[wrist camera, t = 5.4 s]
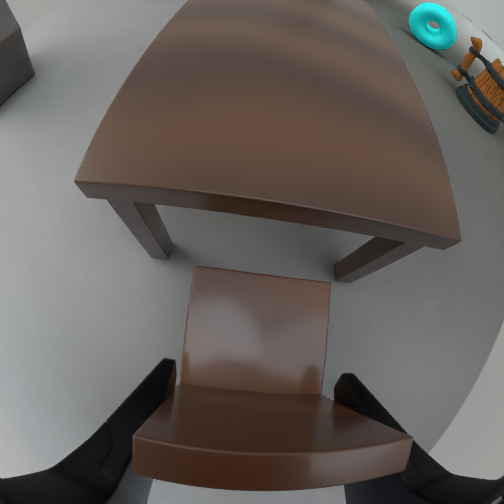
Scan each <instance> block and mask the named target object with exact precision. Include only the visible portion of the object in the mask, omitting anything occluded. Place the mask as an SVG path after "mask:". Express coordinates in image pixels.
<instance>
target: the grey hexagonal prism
mask: <svg viewBox="0 0 504 504" xmlns="http://www.w3.org/2000/svg"><path fill="white" fill-rule="evenodd" d="M34 74H35V72H34V69H33V66H32V64H31V61H30V58H29V55H28V52H27V49H26V45H25V42H24V39H23V36H22V33H21V29H20V26H19V24H18V23H17V21H16V19H15V17H14V15H13V14H12V12H11V10H10V8H9V6H8V4H7V2H6V1H5V0H0V105H1V104H2V103H3V102H4V101H5V100H6V99H7V98H8V97H9V96H10V95H11V94H12V93H14V92H15V91H16V90H17V89H18V88H19V87H20V86H21V85H22V84H24V83H25V82H26V81H27V80H28V79H29V78H31V77H32V76H33V75H34Z"/></svg>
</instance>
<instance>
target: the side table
mask: <svg viewBox="0 0 504 504" xmlns="http://www.w3.org/2000/svg"><path fill="white" fill-rule="evenodd" d="M74 182H75V184H76V185H77V186H78V187H79V189H80V190H81V191H82V192H83V194H84V195H85V196H86V197H87V198H97V199H107V201H108V202H109V203H110V205H111V206H112V207H113V209H114V210H115V211H116V213H117V214H118V215H119V217H120V218H121V219H122V221H123V222H124V223H125V225H126V226H127V227H128V228H129V230H130V231H131V232H132V234H133V235H134V236H135V237H136V239H137V240H138V241H139V242H140V244H141V245H142V246H143V247H144V249H145V250H146V251H147V252H148V254H149V255H150V256H151V257H154V258H161V259H169V255H170V250H171V245H172V241H171V239H170V237H169V235H168V233H167V231H166V229H165V226H164V224H163V222H162V220H161V218H160V216H159V214H158V211H157V209H156V207H155V205H154V204H159V205H168V206H176V207H185V208H193V209H201V210H209V211H217V212H225V213H232V214H240V215H247V216H254V217H261V218H268V219H274V220H281V221H288V222H294V223H300V224H307V225H313V226H319V227H325V228H331V229H337V230H342V231H348V232H354V233H359V234H365V235H370V236H375V237H374V238H372V239H371V240H370V241H368V242H367V243H365V244H364V245H362V246H361V247H360V248H358V249H357V250H355V251H354V252H352V253H351V254H349V255H348V256H347V257H345V258H344V259H342V260H341V261H339V262H338V263H336V264H335V281H339V282H348V283H351V282H353V281H355V280H357V279H359V278H362V277H364V276H366V275H368V274H370V273H372V272H374V271H376V270H378V269H381V268H383V267H385V266H387V265H389V264H391V263H393V262H395V261H397V260H399V259H401V258H403V257H405V256H407V255H409V254H411V253H413V252H414V251H416V250H418V249H420V248H422V247H424V246H427V247H431V248H436V249H441V250H445V249H447V248H449V247H451V246H453V245H455V244H457V243H459V242H461V234H460V228H459V222H458V217H457V211H456V206H455V202H454V197H453V193H452V189H451V184H450V181H449V177H448V173H447V169H446V166H445V162H444V159H443V156H442V152H441V149H440V146H439V143H438V140H437V137H436V134H435V132H434V129H433V126H432V123H431V121H430V118H429V116H428V113H427V111H426V108H425V106H424V103H423V101H422V99H421V96H420V94H419V92H418V90H417V88H416V85H415V83H414V81H413V79H412V77H411V75H410V73H409V71H408V69H407V67H406V65H405V63H404V61H403V60H402V58H401V56H400V54H399V52H398V51H397V49H396V47H395V45H394V44H393V42H392V40H391V39H390V37H389V35H388V34H387V32H386V30H385V29H384V27H383V26H382V24H381V23H380V21H379V20H378V18H377V17H376V15H375V14H374V12H373V11H372V9H371V8H370V7H369V5H368V4H367V2H365V1H362V0H188V1H187V2H186V3H185V4H184V5H183V6H182V7H181V9H180V10H179V11H178V12H177V13H176V14H175V15H174V16H173V18H172V19H171V20H170V21H169V22H168V23H167V25H166V26H165V27H164V28H163V29H162V31H161V32H160V33H159V34H158V36H157V37H156V38H155V39H154V41H153V42H152V43H151V45H150V46H149V47H148V49H147V50H146V51H145V53H144V54H143V56H142V57H141V58H140V60H139V61H138V63H137V64H136V65H135V67H134V68H133V70H132V71H131V73H130V74H129V76H128V77H127V79H126V81H125V82H124V84H123V85H122V87H121V89H120V90H119V92H118V93H117V95H116V97H115V98H114V100H113V102H112V104H111V105H110V107H109V109H108V111H107V112H106V114H105V116H104V118H103V120H102V122H101V124H100V126H99V127H98V129H97V131H96V133H95V135H94V137H93V139H92V141H91V144H90V146H89V148H88V150H87V152H86V154H85V157H84V159H83V161H82V163H81V166H80V168H79V170H78V173H77V175H76V178H75V180H74Z"/></svg>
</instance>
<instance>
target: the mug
mask: <svg viewBox="0 0 504 504" xmlns="http://www.w3.org/2000/svg"><path fill="white" fill-rule="evenodd" d="M471 42H472V44H473V47H472V46H471V47H470V48H469V51H470V52H468V54H467V55H466V56H465V58H464V59H463V61H462V64H461V65H459V66H458V67H457V70H454V71H452V75H453V77H454V78H455V79H456V80H457V81H461V79H462V77H463V76H465V77H466V80H467V81H468V84H464V85H463V86H460V87H458V89H457V90H456V93H457V96H458V98H459V100H460V102H461V104H462V105H463V106H464V108H465V109H466V111H467V112H468V113H469V114H470V115H471V116H472V117H473V119H474V120H475V121H476V122H477V123H478V124H479V125H480V126H481V127H482V128H484V129H485V130H487V131H488V132H489V133H495V132H496V131H497V130H498V126H499V124H500V120H501V121H502V122H503V123H504V119H503V118H504V66H503V65H501V61H500V59H499V58H497V59H496V60H495V61H494V62H492V63H490V62H489V61H488V60H486V59H485V58H484V57H483V56H482V55H480V53H479V52H480V51H481V48H482V41H481V39H480V38H476V37H471ZM475 57H477V58H479V59H480V60H481V61H482V62H483V63H484V65H485V67H486V69H485V70H484V71H483V72H482V73H481V74H479V75H478V76H477V77H476V78H474V77H473V76H471V77H472V78H471V77H470V76H469V75H468V73H467V70H468V68H469V67H470V65H471V64H472V62H473V60H474V59H475Z"/></svg>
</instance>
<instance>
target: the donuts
mask: <svg viewBox="0 0 504 504" xmlns="http://www.w3.org/2000/svg"><path fill="white" fill-rule="evenodd" d="M428 21H435V22H436V23H438V25H439V26H440V28H439V29H434V28H432V27H431V26H430V25H429V24H428ZM409 25H410V29H411V31H412V33H413V34H414V36H415V37H416V38H417V39H418V40H419V41H420V42H421V43H422V44H424V45H425V46H427V47H429V48H432V49H436V50H444V49H447V48H449V47H451V46H452V45H453V44H454V43H455V41H456V38H457V30H456V24H455V21H454V19H453V17H452V16H451V14H450V13H449V12H448V11H447V10H446V9H444V8H443V7H441V6H439V5H437V4H434V3H422V4H420V5H418V6H417V7H416V8H415V9H414V10H413V11H412V12H411V14H410V17H409Z"/></svg>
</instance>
